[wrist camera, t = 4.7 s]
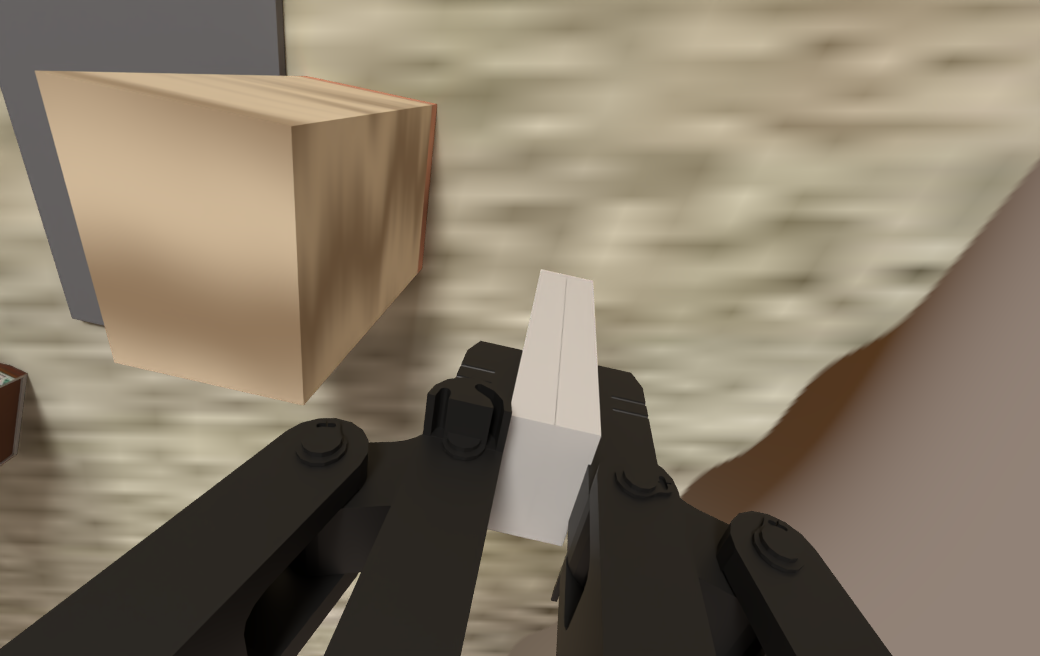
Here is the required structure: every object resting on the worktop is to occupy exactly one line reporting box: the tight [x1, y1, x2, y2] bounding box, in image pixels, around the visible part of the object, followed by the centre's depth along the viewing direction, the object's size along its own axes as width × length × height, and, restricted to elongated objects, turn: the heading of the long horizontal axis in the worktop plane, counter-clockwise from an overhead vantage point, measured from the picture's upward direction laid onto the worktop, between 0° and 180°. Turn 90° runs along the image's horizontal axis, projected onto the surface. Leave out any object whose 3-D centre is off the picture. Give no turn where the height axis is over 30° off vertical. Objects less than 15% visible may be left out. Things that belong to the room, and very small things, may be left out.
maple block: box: [35, 71, 437, 405], centre depth 18 cm, size 8×6×12 cm
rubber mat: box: [0, 0, 286, 325], centre depth 23 cm, size 24×14×1 cm, turn 169°
